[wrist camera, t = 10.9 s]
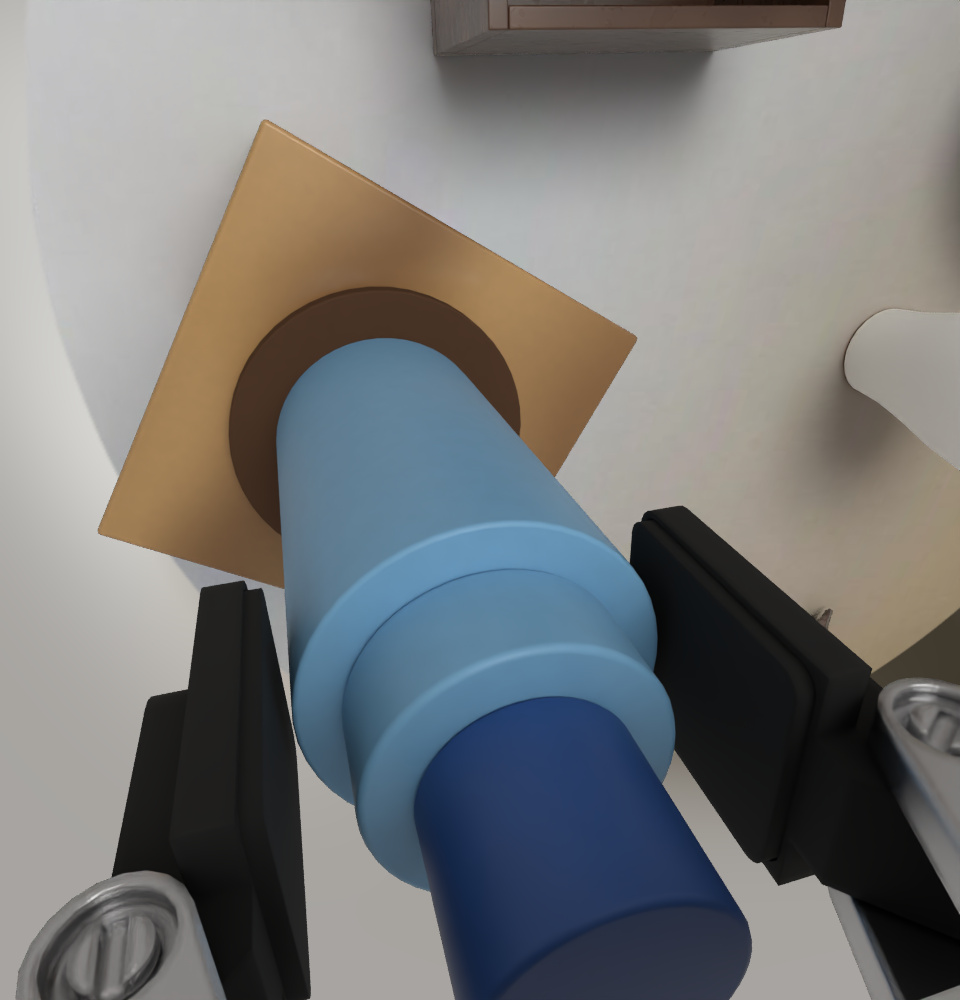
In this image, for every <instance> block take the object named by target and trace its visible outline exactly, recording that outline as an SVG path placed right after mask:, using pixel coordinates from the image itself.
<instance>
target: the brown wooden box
mask: <svg viewBox="0 0 960 1000" xmlns="http://www.w3.org/2000/svg"><path fill="white" fill-rule="evenodd" d="M845 2H846V0H431V15H432V33H433V51H434V56H453V55H515V54H576V53H637V52H699V51H718V50H724V49H729V48H734V47H740V46H745V45H750V44H756V43H761V42H766V41H772V40H777V39H782V38H788V37H793V36H798V35H803V34H809V33H814V32H819V31H825V30H830V29H835V28H840V27H841V26H842V20H843V14H844V8H845Z"/></svg>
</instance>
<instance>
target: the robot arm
mask: <svg viewBox="0 0 960 1000" xmlns="http://www.w3.org/2000/svg"><path fill="white" fill-rule="evenodd" d="M630 565H631V566H632V567H633V568H634V570H635V571H636V573H637V574H638V575H639V577H640V578H641V580H642V581H643V583H644V585H645V587H646V589H647V592H648V594H649V596H650V598H651V601H652V605H653V609H654V613H655V616H656V625H657V636H658V640H657V656H656V661H655V666H654V670H653V673H654V674H655V675H656V677H657V678H658V680H659V681H660V682H661V684H662V685H663V686H664V688H665V691H666V693H667V695H668V697H669V699H670V702H671V706H672V709H673V713H674V720H675V732H676V734H675V746H674V750H675V751H676V753H677V754H678V755H679V757H680V758H681V760H682V761H683V763H684V764H685V766H686V767H687V769H688V770H689V772H690V773H691V775H692V776H693V778H694V779H695V781H696V782H697V783H698V785H699V786H700V788H701V789H702V791H703V792H704V794H705V795H706V797H707V798H708V800H709V801H710V803H711V804H712V806H713V807H714V808H715V810H716V811H717V813H718V814H719V816H720V817H721V818H722V820H723V822H724V823H725V824H726V826H727V828H728V829H729V831H730V832H731V833H732V835H733V837H734V838H735V839H736V841H737V842H738V844H739V845H740V847H741V848H742V850H743V851H744V853H745V854H746V855H747V856H748V858H749V859H751V860H752V861H753V862H755V863H760V862H762V863H763V864H764V865H765V867H766V868H767V870H768V871H769V873H770V874H771V876H772V877H773V878H774V880H775V881H776V883H777V884H778V886H779V885H783V884H786V883H789V882H792V881H795V880H799V879H802V878H805V877H808V876H811V875H816V877H817V878H818V879H819V881H820V882H821V883H822V884H823V885H825V886H828V890H829V894H830V898H831V900H832V903H833V905H834V908H835V910H836V913H837V915H838V918H839V920H840V923H841V925H842V927H843V930H844V932H845V935H846V938H847V940H848V942H849V945H850V947H851V950H852V952H853V955H854V957H855V960H856V962H857V965H858V967H859V970H860V972H861V975H862V977H863V980H864V982H865V984H866V987H867V990H868V992H869V995H870V997H871V1000H960V686H958V685H955V684H951V683H948V682H944V681H940V680H935V679H926V678H909V679H900V680H897V681H895V682H893V683H890V684H888V685H886V687H885V688H884V689H883V688H882V687H881V686H879V685H878V684H877V683H876V682H875V681H874V680H873V679H872V678H870V674H871V671H872V668H871V667H870V666H869V665H867V664H866V663H865V662H864V661H863V660H862V659H861V658H859V657H858V656H857V655H856V654H855V653H854V652H852V651H851V650H850V649H849V648H848V647H847V646H845V645H844V644H843V643H842V642H841V641H840V640H839V639H837V638H836V637H835V636H834V635H833V634H832V633H830V632H829V631H828V630H827V629H826V628H825V627H824V626H822V625H821V624H820V623H819V622H818V621H817V620H815V619H814V618H813V617H812V616H811V615H810V614H809V613H807V612H806V611H805V610H804V609H803V608H802V607H800V606H799V605H798V604H797V603H796V602H795V601H794V600H792V599H791V598H790V597H789V596H788V595H787V594H785V593H784V592H783V591H782V590H781V589H780V588H779V587H777V586H776V585H775V584H774V583H773V582H772V581H770V580H769V579H768V578H767V577H766V576H765V575H763V574H762V573H761V572H760V571H759V570H758V569H757V568H755V567H754V566H753V565H752V564H751V563H750V562H748V561H747V560H746V559H745V558H744V557H743V556H742V555H740V554H739V553H738V552H737V551H736V550H735V549H733V548H732V547H731V546H730V545H729V544H728V543H727V542H725V541H724V540H723V539H722V538H721V537H720V536H718V535H717V534H716V533H715V532H714V531H713V530H712V529H710V528H709V527H708V526H707V525H706V524H705V523H703V522H702V521H701V520H700V519H699V518H698V517H696V516H695V515H694V514H693V513H692V512H691V511H690V510H688V509H687V508H686V507H684V506H675V507H669V508H663V509H657V510H652V511H647V512H646V513H645V514H644V515H643V517H642V521H641V522H637V523H636V524H634V527H633V530H632V541H631V555H630ZM306 920H307V919H306V902H305V886H304V870H303V853H302V837H301V820H300V804H299V789H298V771H297V756H296V747H295V741H294V734H293V729H292V724H291V720H290V715H289V710H288V706H287V701H286V696H285V691H284V687H283V682H282V677H281V673H280V668H279V663H278V658H277V653H276V649H275V644H274V639H273V635H272V630H271V625H270V620H269V616H268V611H267V606H266V601H265V597H264V593H263V590H262V588H259V589H253V590H248V589H247V586H246V583H245V581H238V582H232V583H226V584H220V585H214V586H209V587H203V588H201V592H200V600H199V607H198V615H197V623H196V631H195V639H194V646H193V655H192V662H191V670H190V678H189V686H188V689H187V690H182V691H177V692H172V693H167V694H162V695H157V696H153V697H151V698H150V699H149V700H148V702H147V705H146V708H145V712H144V717H143V722H142V727H141V732H140V737H139V742H138V747H137V752H136V757H135V762H134V767H133V772H132V777H131V782H130V787H129V793H128V798H127V802H126V807H125V812H124V818H123V823H122V828H121V833H120V838H119V843H118V848H117V853H116V858H115V863H114V868H113V873H112V878H110V879H107V880H104V881H101V882H99V883H96V884H95V885H93V886H92V887H90V888H88V889H87V890H85V891H84V892H82V893H80V894H79V895H77V896H76V897H74V898H72V899H71V900H70V901H69V902H68V903H67V904H66V905H64V906H63V907H62V908H61V909H60V910H59V911H58V912H57V913H56V914H55V915H53V916H52V917H51V918H50V919H49V920H48V921H47V923H46V924H45V925H44V927H43V928H42V929H41V931H40V932H39V933H38V935H37V936H36V938H35V939H34V940H33V942H32V943H31V945H30V946H29V949H28V951H27V953H26V956H25V958H24V960H23V962H22V965H21V967H20V969H19V972H18V982H17V990H16V1000H307V999H310V996H311V986H310V968H309V954H308V953H309V952H308V936H307V921H306Z"/></svg>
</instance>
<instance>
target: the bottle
mask: <svg viewBox="0 0 960 1000" xmlns="http://www.w3.org/2000/svg"><path fill="white" fill-rule="evenodd" d="M276 448H277V465H278V482H279V499H280V517H281V534H282V551H283V569H284V586H285V603H286V621H287V638H288V655H289V673H290V689H291V706H292V719H293V726H294V730H295V734H296V737H297V742H298V744H299V746H300V748H301V750H302V753H303V755H304V757H305V759H306V761H307V762H308V764H309V765H310V766H311V768H312V769H313V771H314V772H315V773H316V775H317V776H318V778H319V779H320V780H321V781H323V783H324V784H325V785H327V786H328V788H329V789H331V790H332V791H333V792H334V793H336V794H337V795H338V796H340V797H341V798H343V799H344V800H345V801H347V802H349V803H350V804H352V805H354V806H355V812H356V818H357V823H358V826H359V831H360V834H361V836H362V838H363V840H364V842H365V844H366V846H367V848H368V849H369V850H370V852H371V853H372V855H373V856H374V857H375V859H376V860H377V861H378V862H379V863H380V864H381V865H382V866H383V867H384V868H385V869H386V870H387V871H388V872H389V873H391V874H392V875H394V876H395V877H397V878H398V879H400V880H401V881H404V882H406V883H408V884H410V885H412V886H414V887H417V888H420V889H423V890H426V891H430V892H431V896H432V901H433V905H434V909H435V914H436V918H437V922H438V926H439V931H440V936H441V940H442V944H443V948H444V953H445V957H446V962H447V966H448V971H449V975H450V979H451V984H452V988H453V993H454V996H455V1000H729V999H730V998H731V997H732V995H733V994H734V992H735V990H736V989H737V988H738V986H739V985H740V983H741V981H742V979H743V977H744V975H745V973H746V971H747V968H748V965H749V962H750V958H751V952H752V939H751V935H750V930H749V926H748V922H747V920H746V918H745V917H744V915H743V913H742V911H741V910H740V908H739V906H738V905H737V903H736V902H735V900H734V899H733V897H732V895H731V894H730V892H729V891H728V889H727V887H726V886H725V884H724V882H723V881H722V879H721V878H720V876H719V874H718V873H717V871H716V870H715V868H714V867H713V865H712V863H711V862H710V860H709V859H708V857H707V855H706V854H705V852H704V851H703V849H702V847H701V846H700V844H699V842H698V841H697V839H696V838H695V836H694V834H693V833H692V831H691V830H690V828H689V826H688V825H687V823H686V822H685V820H684V818H683V817H682V815H681V814H680V812H679V810H678V809H677V807H676V806H675V804H674V802H673V801H672V799H671V798H670V796H669V794H668V793H667V791H666V790H665V788H664V787H663V785H662V783H663V781H664V779H665V777H666V774H667V771H668V769H669V766H670V764H671V760H672V756H673V752H674V746H675V734H676V732H675V720H674V713H673V709H672V706H671V702H670V699H669V697H668V695H667V693H666V691H665V688H664V686H663V685H662V684H661V682H660V681H659V680H658V678H657V677H656V675H655V674H654V673H653V670H654V666H655V661H656V656H657V640H658V636H657V625H656V616H655V613H654V609H653V605H652V601H651V598H650V596H649V594H648V592H647V589H646V587H645V585H644V583H643V581H642V580H641V578H640V577H639V575H638V574H637V573H636V571H635V570H634V568H633V567H632V566H631V565H630V563H629V562H628V561H627V560H626V559H625V558H624V556H623V555H622V554H621V553H620V552H619V551H618V550H617V548H616V547H615V546H614V545H613V544H612V543H611V542H610V540H609V539H608V538H607V537H606V536H605V535H604V534H603V532H602V531H601V530H600V529H599V528H598V527H597V525H596V524H595V523H594V522H593V521H592V520H591V519H590V517H589V516H588V515H587V514H586V513H585V512H584V511H583V509H582V508H581V507H580V506H579V505H578V504H577V503H576V501H575V500H574V499H573V498H572V497H571V496H570V494H569V493H568V492H567V491H566V490H565V489H564V488H563V486H562V485H561V484H560V483H559V482H558V481H557V480H556V478H555V477H554V476H553V475H552V474H551V473H550V472H549V470H548V469H547V468H546V467H545V466H544V465H543V463H542V462H541V461H540V460H539V459H538V458H537V457H536V455H535V454H534V453H533V452H532V451H531V450H530V449H529V447H528V446H527V445H526V444H525V443H524V442H523V440H522V439H521V438H520V437H519V436H518V435H517V434H516V432H515V431H514V430H513V429H512V428H511V427H510V426H509V424H508V423H507V422H506V421H505V420H504V419H503V418H502V416H501V415H500V414H499V413H498V412H497V411H496V409H495V408H494V407H493V406H492V405H491V404H490V403H489V401H488V400H487V399H486V398H485V397H484V396H483V395H482V393H481V392H480V391H479V390H478V389H477V388H476V387H475V385H474V384H473V383H472V382H471V381H470V380H469V378H468V377H467V376H466V375H465V374H464V373H463V372H462V371H461V370H460V369H459V368H458V367H457V366H456V365H455V364H454V363H453V362H452V361H451V360H449V359H448V358H447V357H445V356H444V355H442V354H441V353H439V352H437V351H436V350H434V349H432V348H429V347H427V346H425V345H422V344H420V343H416V342H412V341H408V340H403V339H395V338H376V339H368V340H362V341H358V342H355V343H351V344H348V345H345V346H343V347H341V348H338V349H336V350H334V351H332V352H330V353H329V354H327V355H325V356H324V357H322V358H321V359H319V360H318V361H317V362H316V363H314V364H313V365H312V366H310V367H309V368H308V369H307V370H306V371H305V372H304V374H303V375H302V376H301V377H300V378H299V379H298V381H297V382H296V383H295V385H294V386H293V387H292V389H291V391H290V392H289V394H288V396H287V398H286V400H285V402H284V404H283V407H282V410H281V412H280V416H279V421H278V425H277V435H276Z"/></svg>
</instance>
